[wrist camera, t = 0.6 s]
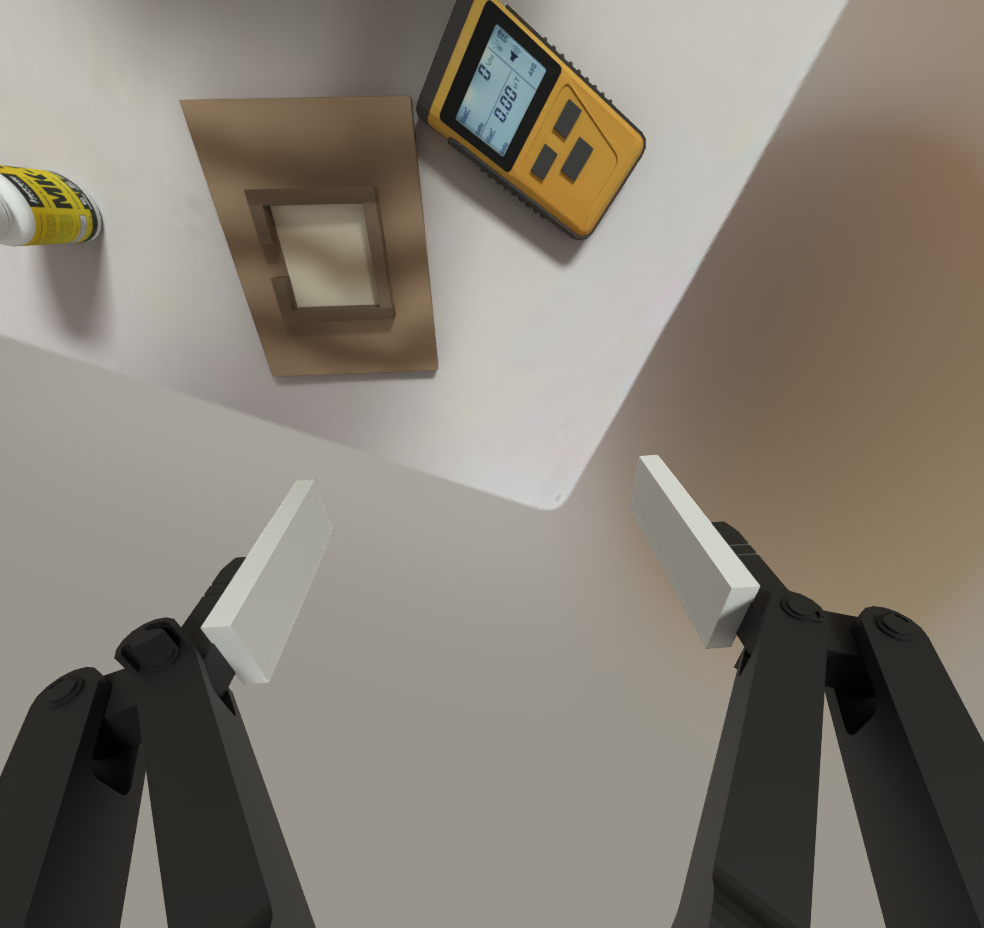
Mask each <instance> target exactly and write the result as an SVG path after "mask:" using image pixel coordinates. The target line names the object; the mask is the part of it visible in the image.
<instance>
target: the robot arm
mask: <svg viewBox="0 0 984 928" xmlns="http://www.w3.org/2000/svg"><path fill="white" fill-rule="evenodd" d="M630 510H631V512H632V514H633V516H634V518H635V520H636V522H637V523H638V525H639V527H640V529H641V530H642V533H643V534H644V536H645V538H646V540H647V542H648V544H649V545H650V547H651V549H652V551H653V553H654V555H655V556H656V558H657V560H658V562H659V564H660V566H661V567H662V569H663V571H664V573H665V575H666V577H667V578H668V580H669V582H670V584H671V586H672V587H673V589H674V591H675V593H676V595H677V597H678V599H679V601H680V602H681V604H682V606H683V608H684V610H685V611H686V613H687V615H688V617H689V619H690V621H691V623H692V624H693V626H694V628H695V630H696V632H697V634H698V635H699V637H700V639H701V641H702V643H703V645H704V646H705V648H706V649H709V648H723V647H731V646H732V644H733V641H734V639H735V637H736V635H737V636H738V637H739V639H740V640H741V642H742V644H743V645H744V649H743V651H742V653H741V655H740V656H739V659H738V660H737V662H736V664H735V666H734V667H735V668H736V669H737V673H736V677H735V681H734V685H733V689H732V693H731V697H730V702H729V705H728V710H727V714H726V718H725V722H724V726H723V730H722V734H721V738H720V742H719V746H718V751H717V755H716V758H715V763H714V767H713V771H712V775H711V779H710V783H709V787H708V791H707V795H706V799H705V803H704V807H703V811H702V816H701V820H700V824H699V828H698V832H697V836H696V841H695V844H694V848H693V852H692V857H691V860H690V864H689V869H688V873H687V877H686V881H685V885H684V889H683V893H682V897H681V901H680V905H679V908H678V912H677V914H676V917H675V920H674V922H673V924H672V927H671V928H810V922H811V906H812V888H813V873H814V856H815V840H816V823H817V806H818V790H819V774H820V757H821V740H822V724H823V707H824V691H825V694H826V698H827V702H828V705H829V709H830V712H831V717H832V721H833V725H834V728H835V732H836V736H837V740H838V744H839V748H840V751H841V756H842V760H843V763H844V767H845V771H846V775H847V779H848V783H849V786H850V790H851V794H852V798H853V802H854V806H855V809H856V813H857V817H858V821H859V825H860V829H861V833H862V837H863V841H864V844H865V848H866V852H867V856H868V860H869V864H870V868H871V872H872V875H873V879H874V883H875V887H876V891H877V894H878V898H879V902H880V906H881V910H882V914H883V918H884V921H885V926H886V928H984V742H983V740H982V738H981V736H980V734H979V732H978V730H977V728H976V727H975V725H974V723H973V721H972V719H971V717H970V715H969V713H968V711H967V709H966V708H965V706H964V704H963V702H962V700H961V698H960V696H959V694H958V692H957V691H956V689H955V687H954V685H953V683H952V681H951V679H950V677H949V675H948V673H947V672H946V670H945V668H944V666H943V664H942V662H941V660H940V658H939V656H938V655H937V653H936V651H935V649H934V647H933V645H932V643H931V641H930V639H929V637H928V636H927V635H926V633H925V632H924V631H923V630H922V628H921V627H920V626H918V625H917V624H916V623H915V622H913V621H912V620H911V619H909V618H907V617H906V616H904V615H902V614H900V613H898V612H896V611H893V610H890V609H887V608H884V607H876V606H872V607H868V608H865V609H864V610H863V611H862V612H861V614H860V615H859V616H858V617H855V616H849V615H844V614H839V613H833V612H828V611H824V610H822V608H821V607H820V606H819V605H818V604H816V603H815V602H814V601H813V600H811V599H809V598H807V597H805V596H803V595H802V594H799V593H795V592H792V591H789V590H788V589H787V588H786V587H785V586H784V585H783V583H782V582H781V581H780V580H779V579H778V577H777V576H776V575H775V574H774V573H773V572H772V570H771V569H770V568H769V567H768V566H767V564H766V563H765V562H764V561H763V560H762V559H761V557H760V556H759V555H756V551H755V550H754V549H753V548H752V547H751V546H750V545H748V542H747V541H746V540H745V539H744V537H743V536H742V535H741V534H740V533H739V532H738V531H737V530H736V529H734V528H733V527H731V526H730V525H728V524H727V523H725V522H724V521H723V522H710V521H709V520H708V518H707V517H706V516H705V515H704V514H703V512H702V511H701V510H700V508H699V507H698V506H697V504H696V503H695V502H694V501H693V499H692V498H691V497H690V495H688V493H687V492H686V490H685V489H684V488H683V487H682V485H681V484H680V483H679V482H678V480H677V479H676V478H675V476H674V475H673V474H672V473H671V471H670V470H669V469H668V467H667V466H666V465H665V464H664V462H663V461H662V460H661V458H660V457H659V456H658V455H651V456H639V460H638V465H637V471H636V476H635V482H634V487H633V493H632V498H631V504H630ZM333 531H334V529H333V526H332V523H331V520H330V518H329V515H328V513H327V509H326V507H325V504H324V501H323V498H322V496H321V493H320V490H319V487H318V484H317V482H316V479H306V480H296V481H295V483H294V485H293V486H292V488H291V489H290V491H289V492H288V494H287V495H286V497H285V499H284V500H283V502H282V503H281V505H280V506H279V508H278V509H277V511H276V513H275V514H274V516H273V517H272V519H271V520H270V522H269V523H268V525H267V526H266V528H265V529H264V531H263V532H262V534H261V535H260V537H259V539H258V540H257V542H256V543H255V545H254V546H253V548H252V550H251V551H250V553H249V554H248V556H247V557H238V558H235V559H234V560H232V561H231V562H230V563H229V564H228V565H226V566H225V567H224V568H223V569H222V570H221V571H220V572H219V574H218V575H217V577H216V578H215V580H214V581H213V583H212V586H210V587H209V588H208V590H207V591H206V593H205V596H204V597H202V598H201V600H200V601H199V603H198V604H197V606H196V607H195V608H194V610H193V611H192V613H191V614H190V616H189V617H188V619H187V620H186V621H185V623H184V624H183V626H182V627H180V626H179V624H178V623H177V622H176V621H175V619H171V618H160V619H155V620H153V621H150V622H148V623H145V624H143V625H142V626H140V627H139V628H137V629H136V630H134V631H132V632H131V633H130V634H129V635H128V636H127V637H126V638H125V639H124V640H123V641H122V642H121V643H120V645H119V646H118V648H117V649H116V653H115V657H114V658H115V659H116V660H117V661H118V662H119V663H120V664H121V665H122V666H123V667H124V668H125V669H122V670H119V671H116V672H113V673H110V674H107V675H104V676H103V675H102V674H101V673H100V672H99V671H98V670H96V669H95V668H93V667H84V668H80V669H77V670H74V671H71V672H69V673H67V674H66V675H63V676H62V677H60V678H58V679H57V680H56V681H54V682H53V683H51V684H50V685H49V686H47V687H46V688H45V689H44V690H43V691H42V692H41V693H40V694H39V695H38V696H37V697H36V699H35V700H34V702H33V704H32V705H31V707H30V709H29V711H28V713H27V716H26V718H25V721H24V723H23V725H22V727H21V730H20V732H19V734H18V736H17V739H16V741H15V744H14V746H13V748H12V751H11V753H10V755H9V758H8V760H7V762H6V764H5V767H4V769H3V771H2V774H1V776H0V928H120V923H121V917H122V911H123V905H124V899H125V893H126V887H127V881H128V875H129V869H130V863H131V857H132V851H133V845H134V839H135V833H136V827H137V821H138V815H139V809H140V803H141V797H142V790H143V785H144V778H145V773H147V780H148V787H149V794H150V801H151V809H152V816H153V823H154V830H155V837H156V844H157V852H158V858H159V866H160V872H161V880H162V887H163V894H164V901H165V909H166V915H167V923H168V928H316V927H315V924H314V921H313V919H312V916H311V913H310V910H309V907H308V904H307V902H306V899H305V896H304V893H303V890H302V887H301V885H300V882H299V879H298V876H297V873H296V870H295V868H294V865H293V862H292V859H291V856H290V854H289V851H288V848H287V845H286V843H285V839H284V837H283V834H282V831H281V828H280V825H279V822H278V820H277V817H276V814H275V811H274V808H273V806H272V803H271V800H270V797H269V794H268V791H267V789H266V786H265V783H264V780H263V777H262V774H261V772H260V769H259V766H258V764H257V760H256V757H255V755H254V752H253V749H252V746H251V743H250V740H249V738H248V735H247V732H246V729H245V726H244V723H243V721H242V718H241V715H240V712H239V709H238V706H237V704H236V701H235V698H234V695H233V692H232V691H231V690H230V689H229V685H230V683H231V681H232V679H233V677H234V675H235V674H236V676H237V677H238V678H239V680H240V681H241V682H242V684H256V683H269V681H270V679H271V677H272V674H273V672H274V669H275V667H276V665H277V662H278V660H279V658H280V655H281V653H282V651H283V648H284V646H285V644H286V641H287V639H288V637H289V634H290V632H291V630H292V627H293V625H294V623H295V620H296V618H297V616H298V613H299V611H300V608H301V606H302V604H303V602H304V599H305V597H306V595H307V592H308V590H309V587H310V585H311V583H312V580H313V578H314V576H315V573H316V571H317V569H318V566H319V564H320V562H321V559H322V557H323V555H324V552H325V550H326V548H327V545H328V543H329V541H330V538H331V536H332V534H333Z"/></svg>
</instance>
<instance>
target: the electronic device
mask: <svg viewBox="0 0 984 928" xmlns="http://www.w3.org/2000/svg"><path fill="white" fill-rule="evenodd" d="M416 111H417V114H418V116H419V117H420V118H421V119H422V120H423V121H425V122H426V123H427V124H429V125H430V126H431V127H433V128H434V129H435V130H437V131H438V132H439V133H441V134H442V135H443V136H444V137H446V138H447V139H448V143H449V144H450V145H452V146H453V147H454V148H455V149H457V150H458V151H459V152H461V153H462V154H463V155H465V156H466V157H467V158H468V159H470V160H471V161H472V162H474V163H475V164H476V165H478V166H479V167H480V168H481V172H484V171H485V172H487V173H488V174H489V178H492V177H493V178H494V179H496V183H497V184H500V183H501V184H502V185H504V189H505V190H507V189H509V190H510V191H511V192H512V195H513V196H514V195H517V196H518V197H519V201H520V202H521V201H524V202H526V206H527V207H532V208H533V209H534V212H535V213H537V212H539V213H540V214H541V218H546V219H548V220H549V221H550V222H552V223H553V224H554V225H556V226H557V227H558V228H559V229H561V230H562V231H563V232H565V233H566V234H567V235H569V236H570V237H571V238H574V239H577V240H583V239H587V238H588V237H589V236H590V235H591V234H592V233H593V232H594V230H595V229H596V227H597V226H598V224H599V222H600V221H601V219H602V218H603V216H604V215H605V213H606V212H607V210H608V208H609V207H610V205H611V204H612V202H613V201H614V199H615V198H616V196H617V194H618V193H619V191H620V190H621V188H622V187H623V185H624V184H625V182H626V180H627V179H628V177H629V176H630V174H631V173H632V171H633V170H634V168H635V166H636V165H637V163H638V162H639V160H640V159H641V157H642V155H643V153H644V150H645V148H646V139H645V137H644V135H643V133H642V132H641V131H640V130H639V129H638V128H637V127H636V126H635V125H634V124H633V123H632V122H631V121H630V120H629V119H628V118H626V117H625V116H624V115H623V114H622V113H621V112H620V111H619V110H618V109H617V108H616V107H615V106H614V105H613V104H612V100H611V99H610V100H608V99H606V98H605V97H604V93H603V92H602V93H600V92H599V91H598V90H597V86H596V85H592V84H591V83H590V82H589V78H588V77H586V78H584V77H583V76H582V75H581V71H580V70H579V69H578V70H576V69H575V68H574V67H573V63H572V62H568V61H566V60H565V59H564V54H563V53H562V54H559V53H558V52H557V51H556V47H555V46H554V45H553V46H551V45H550V44H549V43H548V42H547V38H546V37H544V38H542V37H541V36H540V35H539V34H538V33H537V32H536V31H535V30H534V29H533V28H532V27H531V26H530V25H529V24H528V23H527V22H525V21H524V20H523V19H522V18H521V17H520V16H519V15H518V14H517V13H516V12H515V11H514V10H513V9H512V8H511V7H510V6H508V5H506V7H504V6H503V5H502V4H501V3H500V2H499V1H498V0H457V1H456V3H455V6H454V8H453V11H452V14H451V16H450V19H449V21H448V24H447V27H446V29H445V32H444V34H443V37H442V39H441V42H440V45H439V47H438V50H437V52H436V55H435V58H434V60H433V63H432V65H431V68H430V71H429V73H428V76H427V78H426V81H425V84H424V86H423V89H422V91H421V94H420V97H419V100H418V103H417V107H416Z"/></svg>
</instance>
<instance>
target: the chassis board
mask: <svg viewBox="0 0 984 928" xmlns="http://www.w3.org/2000/svg"><path fill="white" fill-rule="evenodd" d="M179 101H180V104H181V107H182V110H183V113H184V116H185V119H186V122H187V125H188V128H189V131H190V133H191V136H192V139H193V142H194V145H195V148H196V151H197V154H198V157H199V160H200V163H201V166H202V169H203V172H204V175H205V178H206V181H207V184H208V187H209V190H210V193H211V196H212V199H213V201H214V204H215V207H216V210H217V213H218V216H219V219H220V222H221V225H222V228H223V231H224V234H225V237H226V240H227V243H228V246H229V249H230V252H231V255H232V258H233V261H234V264H235V267H236V269H237V272H238V275H239V278H240V281H241V284H242V287H243V290H244V293H245V296H246V299H247V302H248V305H249V308H250V311H251V314H252V317H253V320H254V323H255V326H256V329H257V332H258V335H259V337H260V340H261V343H262V346H263V349H264V352H265V355H266V358H267V361H268V364H269V367H270V370H271V373H272V376H298V375H324V374H350V373H376V372H402V371H428V370H438V358H437V348H436V338H435V328H434V318H433V308H432V297H431V287H430V277H429V267H428V257H427V247H426V237H425V227H424V217H423V207H422V197H421V186H420V176H419V166H418V156H417V146H416V136H415V126H414V116H413V106H412V99H411V97H410V96H372V97H314V98H257V99H199V100H179Z"/></svg>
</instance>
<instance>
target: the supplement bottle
mask: <svg viewBox="0 0 984 928" xmlns="http://www.w3.org/2000/svg"><path fill="white" fill-rule="evenodd" d="M100 230H101V216H100V213H99V210H98V208H97V206H96V204H95V202H94V200H93V199H92V198H91V196H90V195H89V194H88V193H87V192H86V190H85V189H84V188H82V187H81V186H80V185H79V184H78V183H76V182H75V181H73V180H72V179H70V178H68V177H67V176H65V175H62V174H60V173H57V172H52V171H46V170H37V169H28V168H21V167H12V166H4V165H0V244H3V245H8V246H29V245H46V244H63V243H82V242H89V241H91V240H93V239H95V238H96V237H97V236H98V235H99V233H100Z"/></svg>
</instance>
